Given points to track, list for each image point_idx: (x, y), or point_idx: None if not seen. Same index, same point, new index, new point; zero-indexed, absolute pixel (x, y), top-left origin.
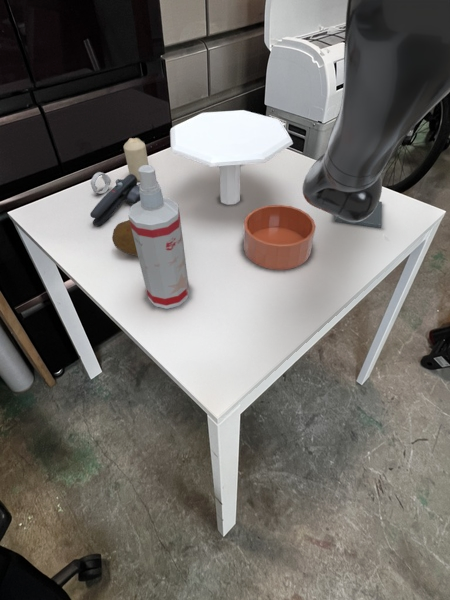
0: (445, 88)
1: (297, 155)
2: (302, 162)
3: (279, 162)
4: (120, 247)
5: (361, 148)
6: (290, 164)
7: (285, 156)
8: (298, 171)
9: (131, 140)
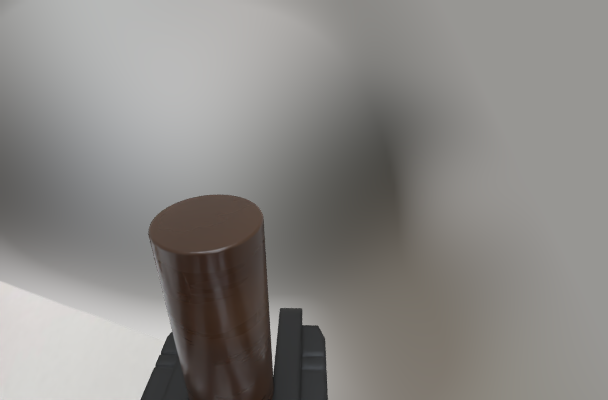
0: None
1: (99, 318)
2: (107, 345)
3: (35, 366)
4: None
5: None
6: (68, 366)
7: (63, 332)
8: (85, 395)
9: None
